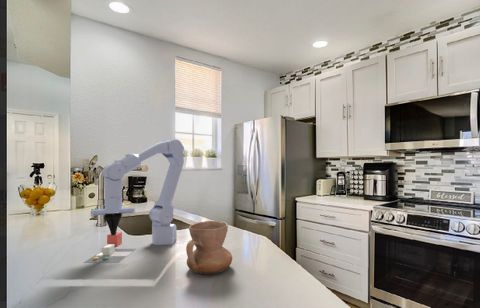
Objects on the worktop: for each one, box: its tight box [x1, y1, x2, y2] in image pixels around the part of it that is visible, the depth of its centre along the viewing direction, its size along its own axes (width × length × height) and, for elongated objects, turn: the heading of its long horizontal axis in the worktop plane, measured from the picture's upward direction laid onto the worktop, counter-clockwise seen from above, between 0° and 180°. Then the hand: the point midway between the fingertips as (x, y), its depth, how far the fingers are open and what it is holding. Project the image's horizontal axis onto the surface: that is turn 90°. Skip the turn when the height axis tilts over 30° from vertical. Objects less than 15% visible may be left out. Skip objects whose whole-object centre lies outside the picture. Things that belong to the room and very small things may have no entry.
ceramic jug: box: [185, 220, 233, 275], centre depth 86 cm, size 18×14×14 cm
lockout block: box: [106, 231, 123, 247], centre depth 108 cm, size 4×4×6 cm
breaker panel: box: [82, 248, 137, 264], centre depth 96 cm, size 12×14×2 cm
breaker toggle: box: [102, 244, 116, 255], centre depth 97 cm, size 2×4×3 cm, turn 178°
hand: (113, 234), depth 98 cm, fingers closed
